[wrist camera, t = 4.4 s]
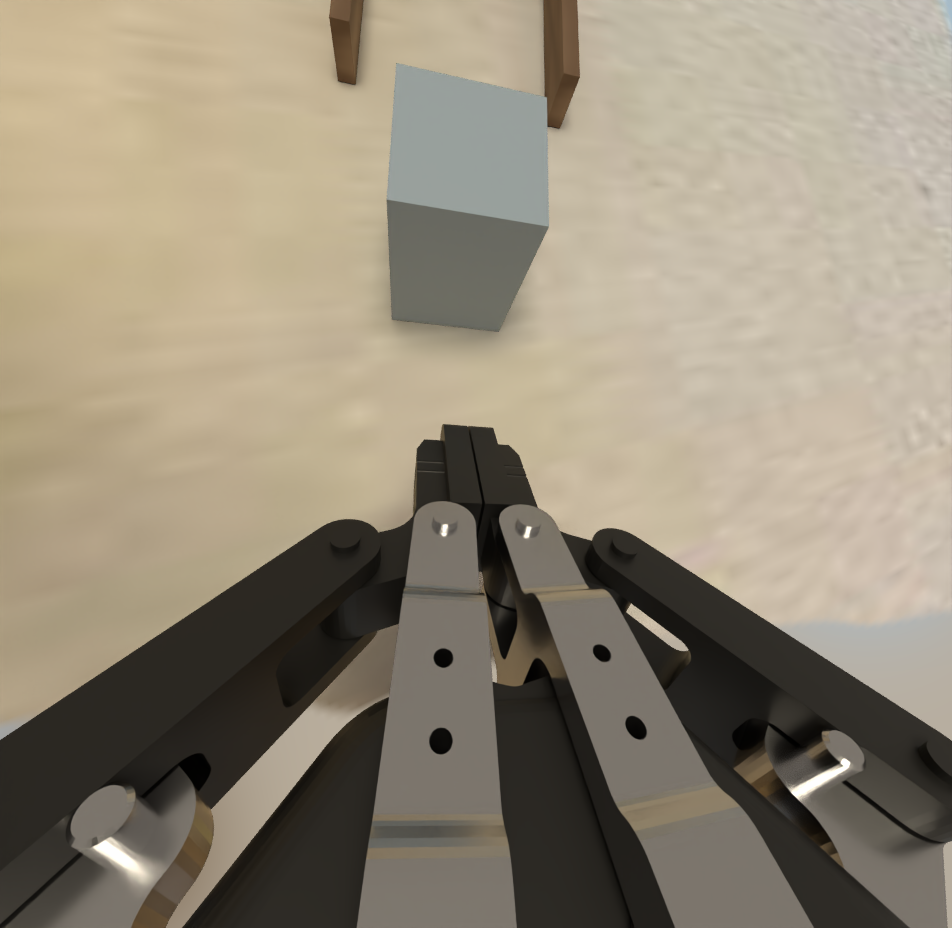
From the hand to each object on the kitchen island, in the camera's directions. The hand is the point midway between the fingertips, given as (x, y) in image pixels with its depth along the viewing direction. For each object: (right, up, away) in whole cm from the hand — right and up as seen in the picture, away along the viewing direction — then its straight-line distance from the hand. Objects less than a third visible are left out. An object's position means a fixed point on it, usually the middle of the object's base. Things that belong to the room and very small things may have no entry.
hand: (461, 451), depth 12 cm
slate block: (-1, +10, +11) cm, 15 cm away
